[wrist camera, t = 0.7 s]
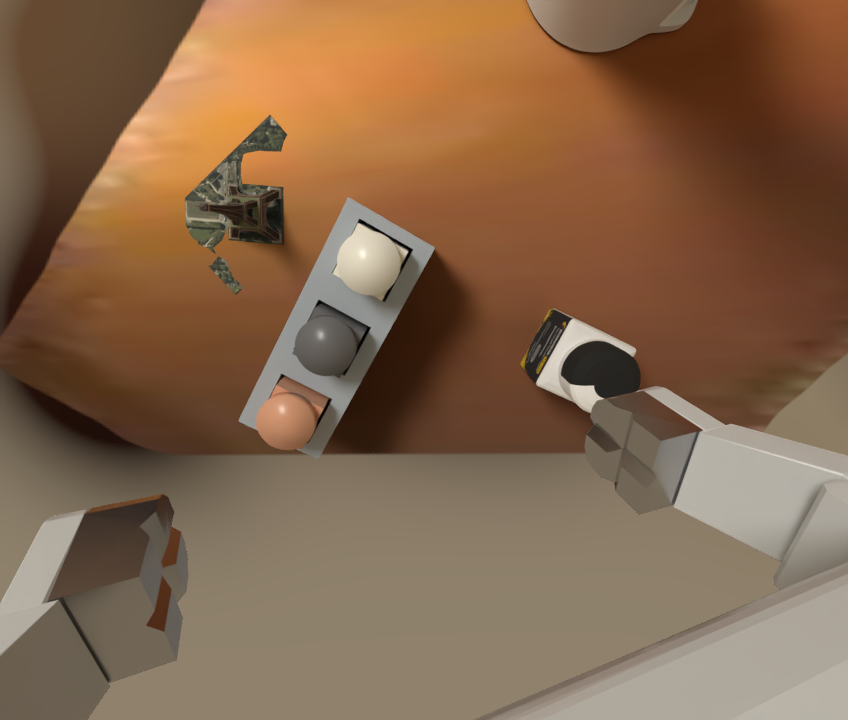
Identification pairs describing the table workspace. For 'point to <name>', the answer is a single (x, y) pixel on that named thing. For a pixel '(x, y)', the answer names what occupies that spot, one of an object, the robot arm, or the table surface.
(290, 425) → the button terracotta
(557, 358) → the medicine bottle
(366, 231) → the button cream
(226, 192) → the eiffel tower figurine
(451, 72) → the table surface
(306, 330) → the button charcoal
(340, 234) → the button console
